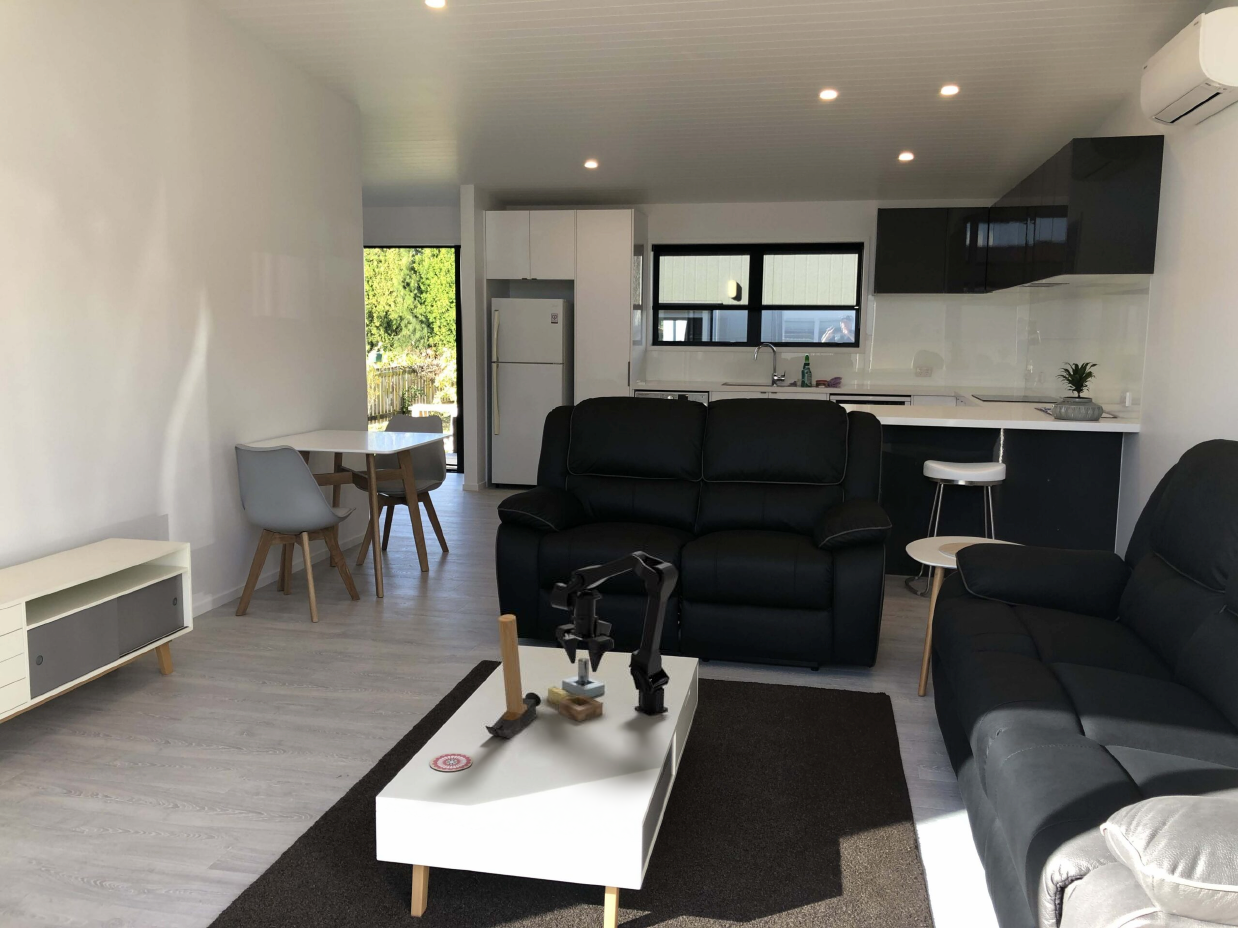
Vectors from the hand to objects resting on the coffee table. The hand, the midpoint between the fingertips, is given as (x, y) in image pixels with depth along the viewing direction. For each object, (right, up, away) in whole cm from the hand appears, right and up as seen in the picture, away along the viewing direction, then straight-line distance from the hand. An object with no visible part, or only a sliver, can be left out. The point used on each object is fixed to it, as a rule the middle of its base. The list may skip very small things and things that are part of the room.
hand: (583, 667), depth 255 cm
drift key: (-5, -8, -10) cm, 14 cm away
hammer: (-16, -10, -25) cm, 31 cm away
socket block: (0, -9, -15) cm, 18 cm away
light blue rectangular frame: (0, -7, +1) cm, 7 cm away
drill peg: (0, -7, +1) cm, 7 cm away
